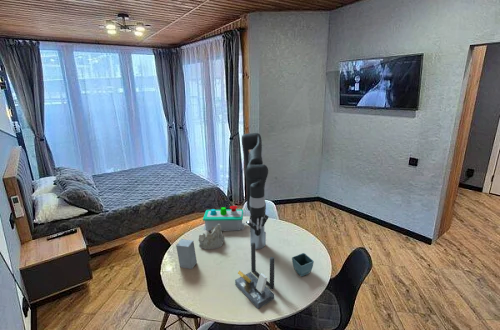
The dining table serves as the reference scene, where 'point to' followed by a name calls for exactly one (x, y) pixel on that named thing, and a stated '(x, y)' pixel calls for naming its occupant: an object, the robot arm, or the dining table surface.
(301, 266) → the flower pot
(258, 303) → the strip
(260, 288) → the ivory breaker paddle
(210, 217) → the control panel
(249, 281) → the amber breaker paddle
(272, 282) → the cable posts
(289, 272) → the dining table surface
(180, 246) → the skincare box
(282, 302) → the dining table surface
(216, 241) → the jagged rock sculpture
